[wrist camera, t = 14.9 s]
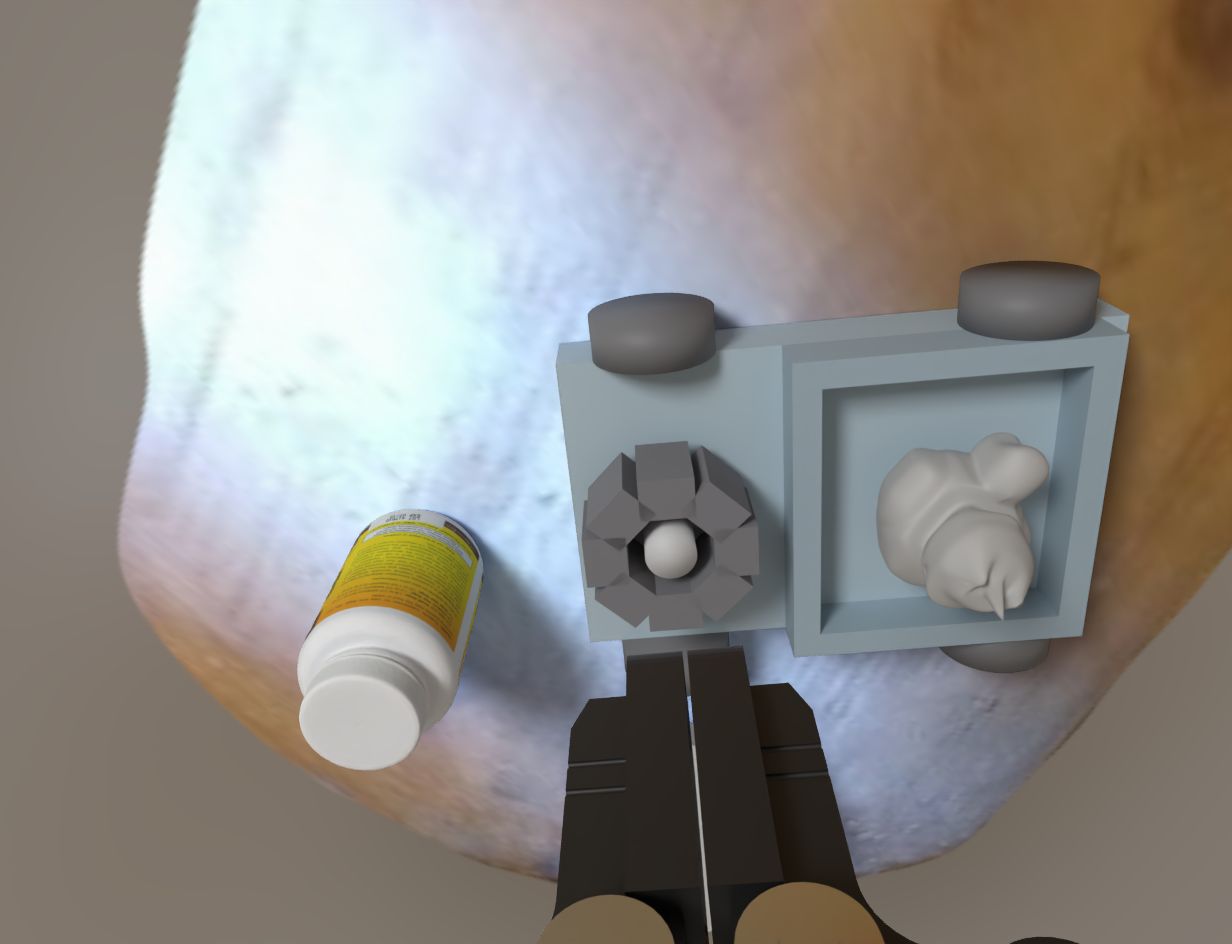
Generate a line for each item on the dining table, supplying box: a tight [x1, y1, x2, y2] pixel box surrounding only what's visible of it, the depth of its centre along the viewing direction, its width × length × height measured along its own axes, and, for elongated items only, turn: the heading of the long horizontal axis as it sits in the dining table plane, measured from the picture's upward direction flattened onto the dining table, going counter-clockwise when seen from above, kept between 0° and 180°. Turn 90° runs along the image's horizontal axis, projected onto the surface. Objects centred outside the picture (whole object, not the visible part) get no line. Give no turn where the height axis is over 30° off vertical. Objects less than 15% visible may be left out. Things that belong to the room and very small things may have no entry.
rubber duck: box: [876, 432, 1049, 620], centre depth 31 cm, size 5×7×8 cm
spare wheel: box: [582, 441, 759, 632], centre depth 33 cm, size 6×6×3 cm
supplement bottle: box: [297, 509, 483, 770], centre depth 34 cm, size 6×6×10 cm
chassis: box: [556, 261, 1130, 696], centre depth 34 cm, size 15×20×6 cm
